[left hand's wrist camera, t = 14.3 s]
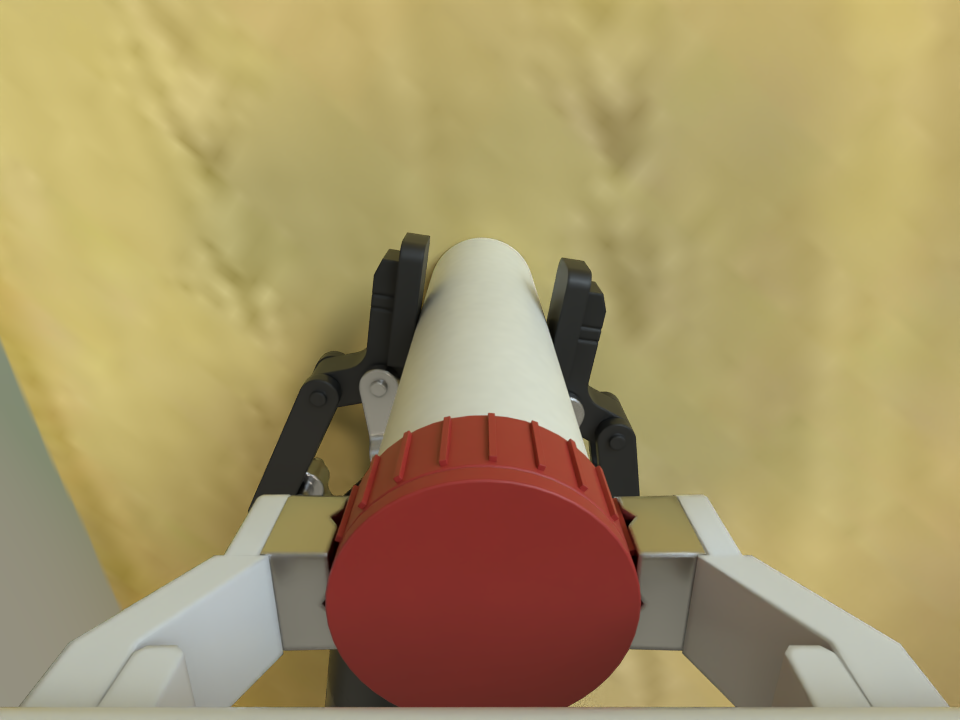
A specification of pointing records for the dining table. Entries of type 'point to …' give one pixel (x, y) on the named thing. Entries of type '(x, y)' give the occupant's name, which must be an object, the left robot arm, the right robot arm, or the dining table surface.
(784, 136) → the dining table surface
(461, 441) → the lid
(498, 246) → the white bottle
